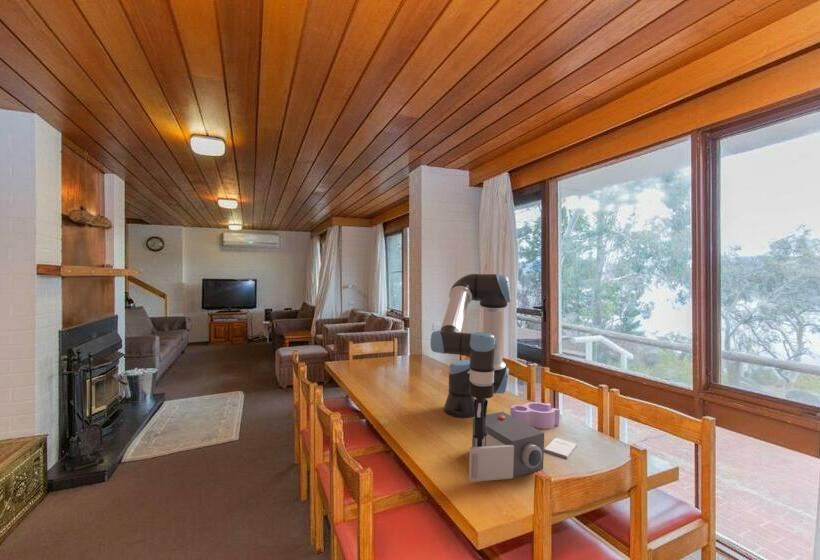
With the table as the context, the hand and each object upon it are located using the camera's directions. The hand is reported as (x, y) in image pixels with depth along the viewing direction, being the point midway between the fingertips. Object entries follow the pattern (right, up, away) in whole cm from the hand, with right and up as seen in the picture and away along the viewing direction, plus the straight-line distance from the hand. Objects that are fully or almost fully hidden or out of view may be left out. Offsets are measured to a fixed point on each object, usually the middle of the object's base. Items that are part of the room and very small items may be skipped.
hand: (479, 457), depth 114 cm
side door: (+3, -6, -3) cm, 7 cm away
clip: (+32, -7, +43) cm, 54 cm away
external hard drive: (+34, -8, +20) cm, 40 cm away
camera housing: (+12, -7, +11) cm, 17 cm away
